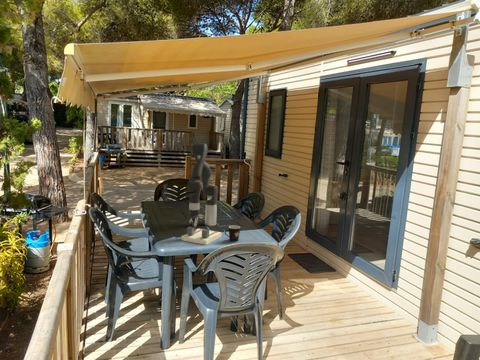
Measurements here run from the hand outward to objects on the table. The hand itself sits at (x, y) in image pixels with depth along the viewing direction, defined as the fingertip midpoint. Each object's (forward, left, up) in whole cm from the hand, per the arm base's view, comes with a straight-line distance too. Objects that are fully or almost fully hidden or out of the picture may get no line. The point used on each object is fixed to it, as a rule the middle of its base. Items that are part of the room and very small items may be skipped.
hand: (193, 231), depth 279 cm
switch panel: (-2, +6, -5) cm, 8 cm away
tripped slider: (+5, 0, -1) cm, 5 cm away
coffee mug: (-9, +27, -5) cm, 29 cm away
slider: (+4, +12, -1) cm, 13 cm away
